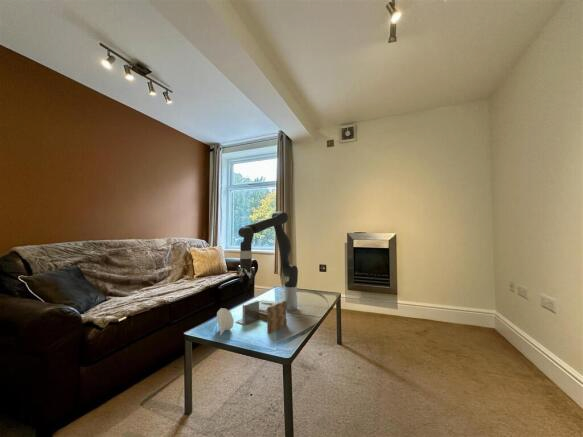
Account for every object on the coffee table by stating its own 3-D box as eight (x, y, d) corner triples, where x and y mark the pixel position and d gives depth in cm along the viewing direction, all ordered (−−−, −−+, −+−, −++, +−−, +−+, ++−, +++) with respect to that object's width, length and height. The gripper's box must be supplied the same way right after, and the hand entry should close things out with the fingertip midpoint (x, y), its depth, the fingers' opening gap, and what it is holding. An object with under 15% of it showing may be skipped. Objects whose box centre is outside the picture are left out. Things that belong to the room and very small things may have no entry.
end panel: (284, 324, 150) (284, 300, 151) (286, 325, 150) (286, 300, 150) (267, 333, 137) (267, 307, 138) (269, 334, 137) (269, 307, 137)
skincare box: (264, 309, 163) (245, 307, 169) (265, 317, 162) (245, 315, 169) (279, 301, 182) (261, 299, 188) (279, 308, 181) (261, 306, 188)
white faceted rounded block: (229, 338, 132) (230, 310, 132) (210, 337, 132) (211, 310, 133) (235, 330, 142) (235, 304, 143) (217, 330, 142) (218, 304, 143)
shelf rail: (251, 315, 167) (251, 309, 167) (286, 325, 149) (286, 318, 150) (249, 315, 166) (249, 309, 166) (285, 326, 148) (285, 319, 148)
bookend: (250, 316, 164) (250, 298, 165) (258, 318, 160) (259, 300, 160) (235, 322, 154) (236, 303, 154) (244, 325, 149) (244, 305, 149)
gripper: (258, 257, 154) (258, 283, 153) (242, 256, 162) (242, 280, 161) (249, 258, 148) (249, 285, 147) (233, 257, 156) (233, 282, 155)
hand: (245, 282), depth 154 cm, fingers open, 8 cm apart
